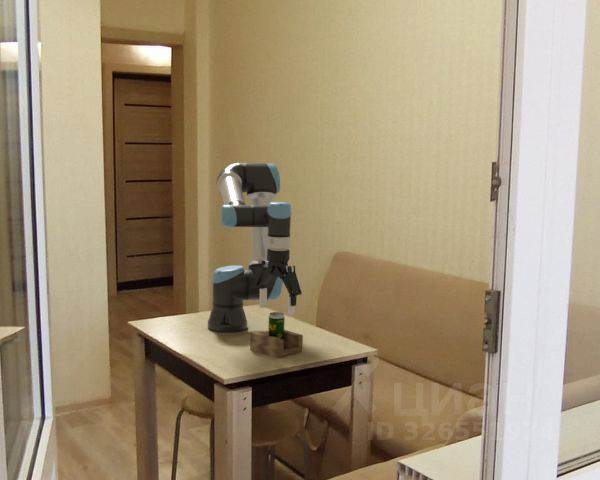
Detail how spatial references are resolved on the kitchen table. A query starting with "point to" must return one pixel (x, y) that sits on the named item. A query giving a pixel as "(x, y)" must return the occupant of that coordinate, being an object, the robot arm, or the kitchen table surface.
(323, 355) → the kitchen table surface
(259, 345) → the slot block
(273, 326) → the beer can
